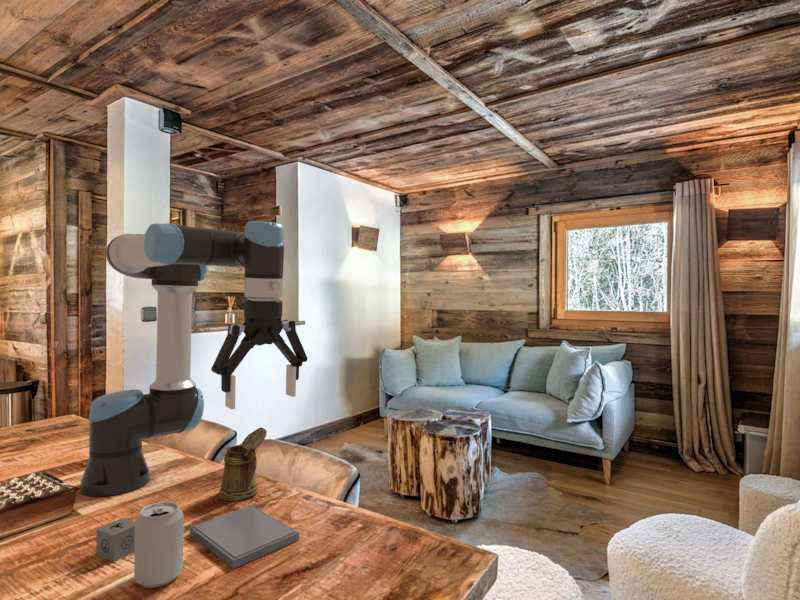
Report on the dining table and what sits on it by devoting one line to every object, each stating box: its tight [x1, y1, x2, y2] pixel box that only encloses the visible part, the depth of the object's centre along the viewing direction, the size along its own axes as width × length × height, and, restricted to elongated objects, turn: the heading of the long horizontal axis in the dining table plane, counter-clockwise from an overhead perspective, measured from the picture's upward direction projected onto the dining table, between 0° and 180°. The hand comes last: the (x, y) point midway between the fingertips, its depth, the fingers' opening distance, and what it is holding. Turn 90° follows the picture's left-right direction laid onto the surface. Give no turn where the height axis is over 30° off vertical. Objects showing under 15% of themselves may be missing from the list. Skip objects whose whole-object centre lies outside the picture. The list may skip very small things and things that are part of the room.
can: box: [133, 501, 184, 589], centre depth 82 cm, size 8×8×12 cm
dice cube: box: [96, 518, 135, 563], centre depth 89 cm, size 5×5×5 cm
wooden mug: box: [218, 427, 268, 502], centre depth 115 cm, size 9×14×18 cm, turn 50°
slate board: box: [189, 505, 300, 570], centre depth 95 cm, size 18×14×2 cm
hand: (261, 401), depth 98 cm, fingers open, 13 cm apart
